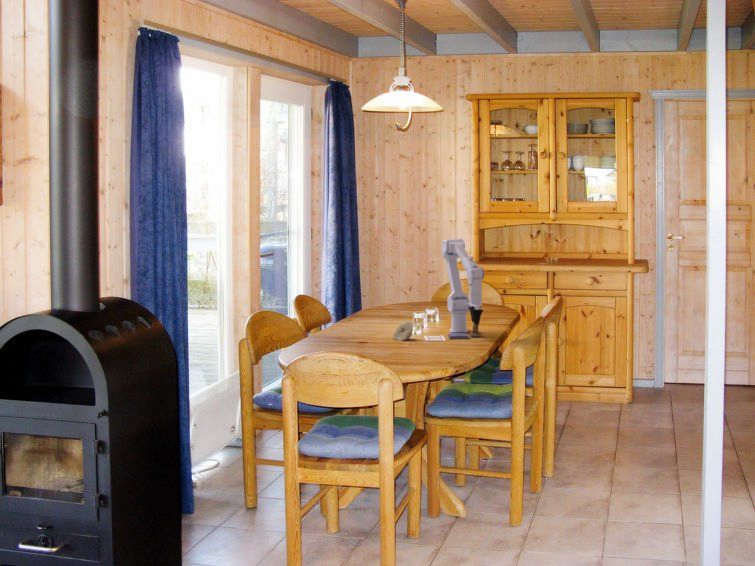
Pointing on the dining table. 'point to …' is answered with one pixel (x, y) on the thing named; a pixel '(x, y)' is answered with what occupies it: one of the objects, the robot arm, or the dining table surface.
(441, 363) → the dining table surface
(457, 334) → the ink pad
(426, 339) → the sheet
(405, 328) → the stone
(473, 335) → the stamp
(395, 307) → the dining table surface
